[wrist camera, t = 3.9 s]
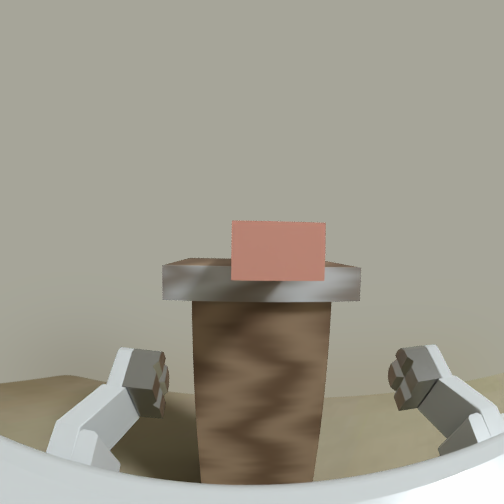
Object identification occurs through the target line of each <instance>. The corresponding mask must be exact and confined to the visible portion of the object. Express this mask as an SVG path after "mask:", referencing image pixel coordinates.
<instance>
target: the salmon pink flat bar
mask: <svg viewBox="0 0 504 504" xmlns="http://www.w3.org/2000/svg"><path fill="white" fill-rule="evenodd" d="M325 229H326V224H325V223H314V222H313V223H312V222H278V221H232V254H231V255H232V256H231V280H242V281H324V279H325V235H326V233H325V232H326V231H325Z"/></svg>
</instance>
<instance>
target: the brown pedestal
mask: <svg viewBox="0 0 504 504" xmlns="http://www.w3.org/2000/svg"><path fill="white" fill-rule="evenodd" d="M162 267H163V268H162V272H163V273H162V275H163V276H162V277H163V300H184V301H192V327H193V328H192V329H193V362H194V363H193V364H194V388H195V408H196V424H197V438H198V452H199V464H200V475H201V483H205V484H225V485H272V484H292V483H305V482H312V481H313V475H314V469H315V463H316V456H317V449H318V442H319V434H320V427H321V419H322V410H323V401H324V392H325V382H326V371H327V359H328V346H329V333H330V316H331V302H334V301H335V302H338V301H360V282H361V268H359V267H354V266H348V265H343V264H338V263H333V262H328V261H325V279H324V281H242V280H231V259H216V258H215V259H214V258H211V259H210V258H188V259H185V260H181V261H177V262H174V263H170V264H166V265H163V266H162Z"/></svg>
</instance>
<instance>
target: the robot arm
mask: <svg viewBox="0 0 504 504" xmlns="http://www.w3.org/2000/svg"><path fill="white" fill-rule="evenodd" d="M396 358H397V359H396V360H395V361H394V362H393V363H392V364H391V365H390V368H389V371H388V380H389V384H390V387H391V388H392V389H394V390H395V391H396V392H395V395H394V399H395V401H396V404H397V407H398V410H399V411H401V410H408V409H414V408H418V410H419V411H420V412H421V413H422V414H423V415H424V416H425V417H426V418H427V419H428V420H429V421H430V422H431V423H432V424H433V425H434V426H435V427H436V428H437V429H438V430H439V431H440V432H441V433H442V434H443V435H444V436H445V437H446V438H447V439H446V440H445V441H444V442H443V443H442V444H441V445H440V446H439V448H438V451H439V454H440V456H439V457H436V458H432V459H429V460H425V461H422V462H418V463H415V464H411V465H407V466H403V467H399V468H394V469H390V470H385V471H381V472H376V473H371V474H365V475H359V476H353V477H347V478H340V479H333V480H325V481H315V482H305V483H292V484H272V485H225V484H205V483H192V482H181V481H172V480H164V479H157V478H150V477H143V476H137V475H132V474H126V473H121V472H119V470H120V462H119V461H118V460H117V458H116V457H115V456H114V455H113V454H112V452H111V451H110V450H111V449H112V447H113V446H114V445H115V444H116V443H117V442H118V441H119V440H120V439H121V438H122V437H123V435H124V434H125V433H126V432H127V431H128V430H129V429H130V428H131V427H132V425H133V424H134V423H135V422H136V421H137V420H138V419H139V416H140V417H150V418H161V419H163V415H164V410H165V404H166V402H165V399H164V395H165V394H166V393H167V392H168V387H169V371H168V367H167V366H166V365H165V359H166V358H165V355H164V352H159V351H150V350H141V349H133V348H124V347H123V348H122V347H121V348H120V349H119V350H118V352H117V355H116V358H115V360H114V363H113V366H112V369H111V372H110V375H109V378H108V381H107V384H102V385H101V386H99V387H98V388H97V389H96V390H94V391H93V392H92V393H91V394H90V395H88V396H87V397H86V398H85V399H83V400H82V401H81V402H80V403H78V404H77V405H76V406H75V407H73V408H72V409H71V410H70V411H68V412H67V413H66V414H65V415H63V416H62V417H61V418H60V419H59V420H57V421H56V424H55V427H54V430H53V433H52V436H51V439H50V442H49V445H48V448H47V451H46V452H43V451H40V450H37V449H34V448H32V447H29V446H26V445H24V444H21V443H18V442H16V441H13V440H11V439H8V438H6V437H4V436H1V435H0V504H504V422H503V419H502V417H501V415H500V413H499V411H498V409H497V406H496V405H495V404H493V403H492V402H491V401H489V400H488V399H487V398H485V397H484V396H483V395H481V394H480V393H479V392H477V391H476V390H474V389H473V388H472V387H470V386H469V385H468V384H466V383H465V382H464V381H462V380H461V379H459V378H458V377H457V376H452V374H451V372H450V370H449V368H448V366H447V364H446V362H445V360H444V358H443V356H442V354H441V352H440V350H439V348H438V347H437V346H436V345H434V344H433V345H425V346H416V347H408V348H401V349H399V350H398V351H397V353H396Z"/></svg>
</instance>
